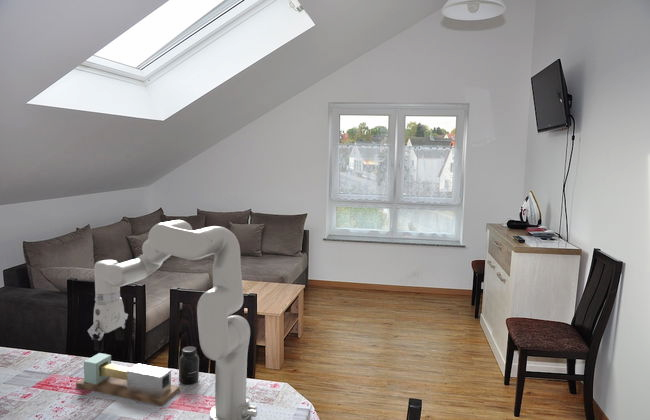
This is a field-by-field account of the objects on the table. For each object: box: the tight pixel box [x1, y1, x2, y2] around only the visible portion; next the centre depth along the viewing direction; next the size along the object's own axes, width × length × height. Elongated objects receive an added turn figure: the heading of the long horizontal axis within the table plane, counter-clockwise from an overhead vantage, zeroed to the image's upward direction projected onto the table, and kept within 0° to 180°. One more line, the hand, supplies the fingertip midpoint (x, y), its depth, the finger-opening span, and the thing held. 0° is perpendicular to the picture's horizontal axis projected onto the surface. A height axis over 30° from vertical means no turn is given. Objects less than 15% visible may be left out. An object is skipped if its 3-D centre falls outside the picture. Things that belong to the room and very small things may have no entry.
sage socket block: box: [83, 352, 112, 384], centre depth 156 cm, size 5×7×8 cm
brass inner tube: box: [99, 363, 131, 380], centre depth 153 cm, size 20×3×3 cm, turn 74°
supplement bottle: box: [178, 346, 200, 386], centre depth 160 cm, size 7×7×12 cm
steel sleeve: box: [127, 363, 172, 397], centre depth 150 cm, size 13×6×7 cm, turn 74°
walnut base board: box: [75, 377, 181, 407], centre depth 153 cm, size 34×10×2 cm, turn 74°
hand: (109, 345), depth 154 cm, fingers open, 9 cm apart
